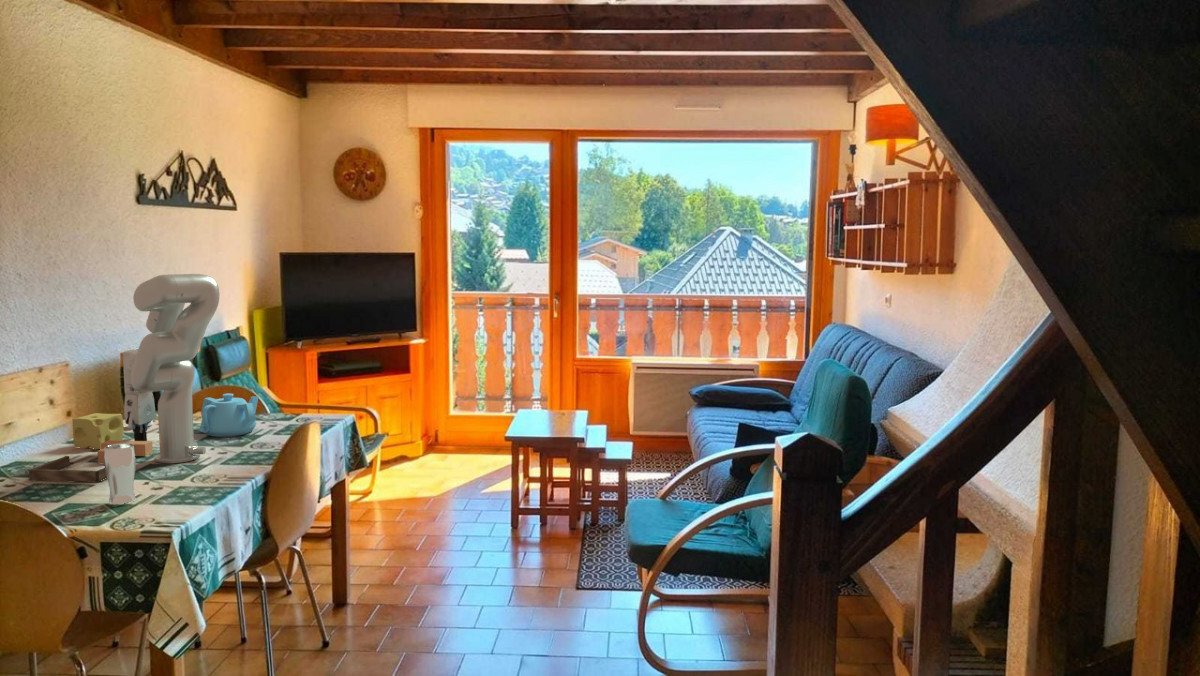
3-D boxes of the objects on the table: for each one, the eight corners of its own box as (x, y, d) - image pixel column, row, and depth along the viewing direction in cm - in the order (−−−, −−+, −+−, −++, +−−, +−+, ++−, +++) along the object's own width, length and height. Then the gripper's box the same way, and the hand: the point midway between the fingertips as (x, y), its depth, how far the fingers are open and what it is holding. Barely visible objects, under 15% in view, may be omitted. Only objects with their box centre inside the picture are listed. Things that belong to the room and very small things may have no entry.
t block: (152, 453, 262) (152, 441, 261) (128, 464, 249) (127, 451, 248) (109, 452, 262) (108, 440, 261) (82, 463, 249) (82, 450, 249)
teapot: (253, 436, 286) (252, 397, 284) (193, 440, 280) (191, 400, 279) (259, 425, 304) (258, 388, 302) (202, 428, 298) (201, 390, 297)
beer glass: (143, 498, 216) (140, 442, 215) (128, 507, 210) (125, 449, 208) (116, 498, 216) (113, 442, 214) (100, 507, 209) (97, 449, 208)
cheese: (100, 450, 264) (98, 420, 263) (71, 448, 267) (69, 418, 265) (124, 442, 275) (123, 413, 273) (97, 440, 277) (95, 411, 276)
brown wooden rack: (132, 467, 246) (131, 457, 245) (99, 482, 230) (98, 471, 230) (66, 465, 246) (65, 455, 246) (29, 480, 231) (28, 470, 230)
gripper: (135, 392, 257) (138, 449, 259) (162, 384, 272) (164, 438, 274) (112, 392, 258) (115, 449, 260) (140, 384, 272) (142, 438, 274)
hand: (140, 443), depth 267 cm, fingers closed
